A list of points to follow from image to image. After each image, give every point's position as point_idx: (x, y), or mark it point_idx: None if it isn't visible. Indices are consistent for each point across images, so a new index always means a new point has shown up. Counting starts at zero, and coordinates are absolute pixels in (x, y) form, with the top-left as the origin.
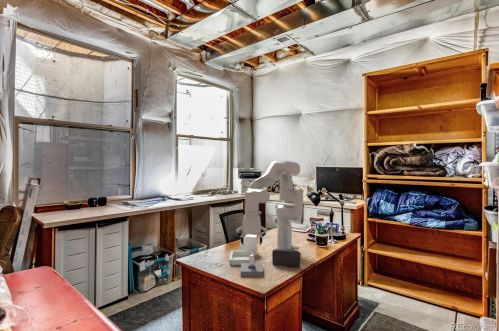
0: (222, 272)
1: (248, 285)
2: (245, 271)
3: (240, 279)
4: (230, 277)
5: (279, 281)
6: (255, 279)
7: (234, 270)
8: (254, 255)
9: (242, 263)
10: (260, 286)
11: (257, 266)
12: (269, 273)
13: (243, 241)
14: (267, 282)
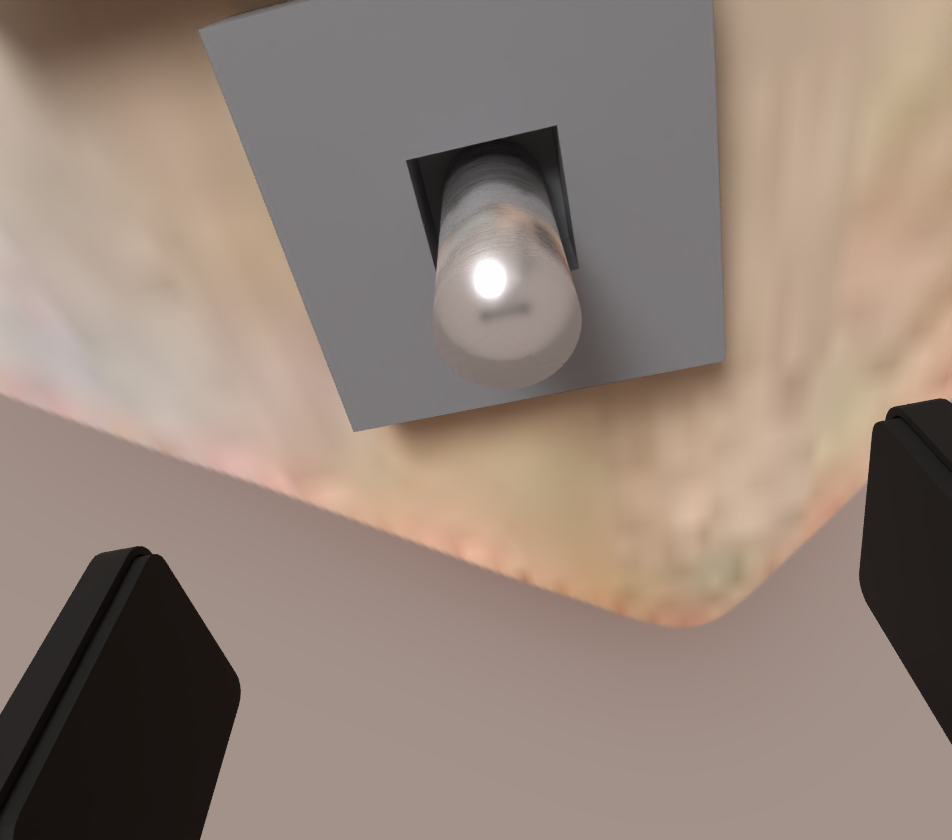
0: (15, 291)
1: (528, 550)
2: (430, 416)
3: (387, 443)
4: (230, 419)
5: (929, 392)
6: (590, 404)
7: (157, 164)
8: (578, 314)
9: (236, 58)
10: (669, 545)
11: (605, 159)
12: (813, 150)
13: (147, 665)
14: (757, 447)
